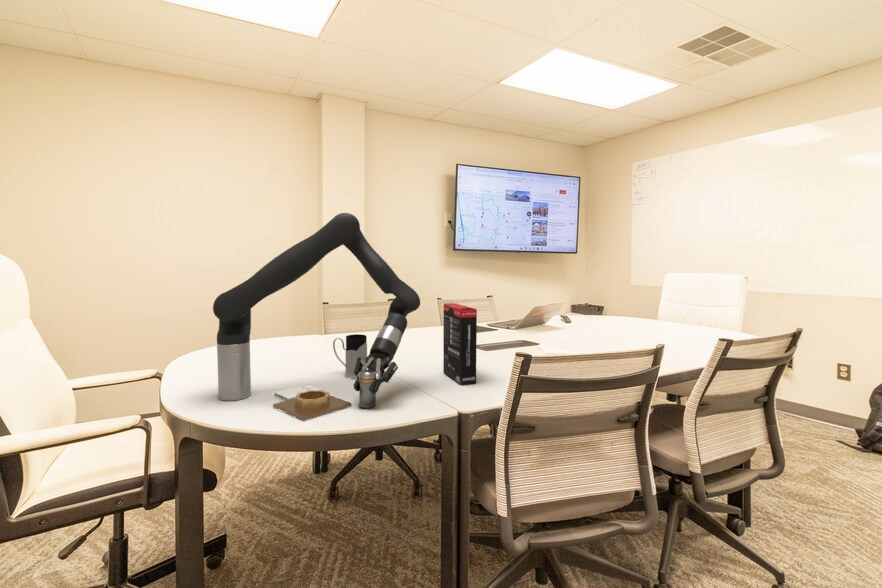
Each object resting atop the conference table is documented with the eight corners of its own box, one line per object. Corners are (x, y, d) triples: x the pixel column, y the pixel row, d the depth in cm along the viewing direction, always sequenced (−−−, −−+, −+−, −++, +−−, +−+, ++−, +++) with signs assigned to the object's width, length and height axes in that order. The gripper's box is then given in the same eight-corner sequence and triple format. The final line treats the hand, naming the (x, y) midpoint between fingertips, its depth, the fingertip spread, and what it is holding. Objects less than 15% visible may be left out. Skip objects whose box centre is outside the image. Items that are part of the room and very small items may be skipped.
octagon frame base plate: (273, 407, 126) (272, 395, 126) (320, 394, 138) (320, 384, 138) (303, 421, 116) (303, 408, 115) (351, 406, 128) (351, 394, 128)
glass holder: (360, 380, 155) (360, 339, 154) (327, 376, 160) (326, 336, 159) (372, 374, 164) (372, 335, 163) (339, 370, 168) (339, 332, 167)
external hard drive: (274, 397, 137) (308, 388, 146) (287, 403, 131) (322, 393, 141) (274, 392, 137) (308, 383, 146) (287, 398, 131) (322, 388, 141)
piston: (355, 405, 127) (355, 371, 126) (368, 400, 131) (368, 368, 130) (366, 409, 124) (366, 375, 123) (379, 404, 128) (380, 371, 127)
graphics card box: (477, 384, 152) (479, 307, 150) (459, 386, 150) (460, 308, 147) (457, 372, 168) (458, 302, 166) (441, 373, 165) (442, 303, 163)
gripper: (362, 334, 136) (338, 381, 126) (402, 338, 130) (379, 388, 120) (372, 347, 141) (349, 393, 131) (410, 352, 135) (389, 401, 125)
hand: (364, 390), depth 126 cm, fingers closed on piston, 5 cm apart
